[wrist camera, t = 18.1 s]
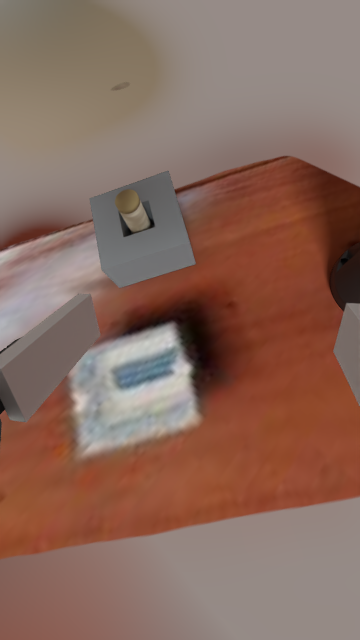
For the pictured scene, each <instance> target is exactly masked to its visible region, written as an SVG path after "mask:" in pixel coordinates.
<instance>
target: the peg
mask: <svg viewBox="0 0 360 640" xmlns="http://www.w3.org/2000/svg"><path fill="white" fill-rule="evenodd" d="M115 205H116V207H117V209H118V210H119V212H120V214H121V215H122V217H123V219H124V220H125V222H126V224H127V225H128V227H129V229H130V230H131V232H132V233H133V234H136V233H139V232H142V231H145V230H148V229H151V228H153V227H152V224H151V222H150V220H149V218H148V216H147V214H146V212H145V209H144V207H143V205H142V203H141V201H140V199H139V196H138V194H137V193H136V192H135V191H134V190H131V189H127V190H123V191H121V192H120V193H119V194H118V195H117V196H116V198H115Z"/></svg>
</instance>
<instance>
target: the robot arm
mask: <svg viewBox="0 0 360 640" xmlns="http://www.w3.org/2000/svg"><path fill="white" fill-rule="evenodd" d="M330 287H331V291H332V294H333V297H334V299H335V301H336V302H337V304H338V305H339V306H340V308H341V309H342V310H343V311H344V314H343V318H342V321H341V325H340V329H339V332H338V336H337V340H336V344H335V347H334V351H333V352H334V354H335V356H336V358H337V360H338V362H339V364H340V366H341V368H342V370H343V372H344V374H345V377H346V379H347V381H348V383H349V385H350V387H351V389H352V391H353V393H354V395H355V397H356V399H357V402H358V404H359V406H360V242H359V243H357V244H355V245H353V246H352V247H350V248H349V249H348V250H347V251H345V252H344V253H343V254H342V256H341V257H340V258H339V260H338V261H337V262H336V264H335V265H334V267H333V269H332V272H331V277H330ZM99 336H100V331H99V327H98V323H97V319H96V314H95V310H94V306H93V301H92V297H91V294H78V295H76V296H75V297H74V298H72V299H71V300H70V301H68V302H67V303H66V304H65V305H63V306H62V307H61V308H59V309H58V310H57V311H55V312H54V313H53V314H52V315H50V316H49V317H48V318H46V319H45V320H44V321H42V322H41V323H40V324H39V325H37V326H36V327H35V328H33V329H32V330H31V331H29V332H28V333H27V334H26V335H24V336H23V337H21V338H19V339H17V340H15V341H14V342H12V343H11V344H10V345H8V346H7V348H4V349H3V350H2V351H0V414H1V413H2V412H3V411H4V410H5V411H6V412H7V414H8V416H9V418H10V420H15V421H21V422H27V421H28V420H29V419H30V417H31V416H32V415H33V414H34V413H35V412H36V410H37V409H38V408H39V407H40V406H41V404H42V403H43V402H44V401H45V400H46V399H47V397H48V396H49V395H50V394H51V393H52V392H53V390H54V389H55V388H56V387H57V386H58V385H59V383H60V382H61V381H62V380H63V379H64V377H65V376H66V375H67V374H68V373H69V372H70V370H71V369H72V368H73V367H74V366H75V365H76V363H77V362H78V361H79V360H80V359H81V357H82V356H83V355H84V354H85V353H86V352H87V350H88V349H89V348H90V347H91V346H92V345H93V343H94V342H95V341H96V340H97V339H98V338H99ZM0 441H1V419H0Z"/></svg>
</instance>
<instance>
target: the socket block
mask: <svg viewBox="0 0 360 640" xmlns="http://www.w3.org/2000/svg"><path fill="white" fill-rule="evenodd" d="M127 189H131V190H134V191H135V192H136V193H137V194H138V196H139V199H140V201H141V203H142V205H143V207H144V209H145V212H146V214H147V216H148V218H149V220H150V222H151V224H152V227H153V228H151V229H148V230H145V231H142V232H139V233H136V234H133V233H132V232H131V230H130V229H129V227H128V225H127V224H126V222H125V220H124V219H123V217H122V215H121V214H120V212H119V210H118V209H117V207H116V205H115V198H116V196H117V195H118V194H119V193H120V192H121V191H123V190H127ZM90 204H91V210H92V216H93V222H94V228H95V234H96V240H97V246H98V251H99V257H100V263H101V269H102V271H103V272H104V273H105V274H106V275H107V276H108V277H109V278H110V279H111V280H112V281H113V282H114V283H115V284H116V285H117V286H118V287H119V288H121V287H124V286H127V285H131V284H134V283H137V282H140V281H143V280H147V279H150V278H153V277H156V276H159V275H162V274H166V273H169V272H172V271H175V270H178V269H182V268H185V267H188V266H191V265H194V264H196V263H195V259H194V256H193V252H192V248H191V245H190V241H189V238H188V234H187V231H186V228H185V224H184V221H183V218H182V214H181V211H180V208H179V204H178V201H177V197H176V194H175V191H174V187H173V184H172V181H171V177H170V174H169V171H166V172H163V173H160V174H157V175H155V176H152V177H149V178H146V179H143V180H141V181H138V182H135V183H132V184H129V185H126V186H124V187H121V188H118V189H115V190H112V191H109V192H107V193H104V194H102V195H98V196H95V197H93V198H90Z"/></svg>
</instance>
